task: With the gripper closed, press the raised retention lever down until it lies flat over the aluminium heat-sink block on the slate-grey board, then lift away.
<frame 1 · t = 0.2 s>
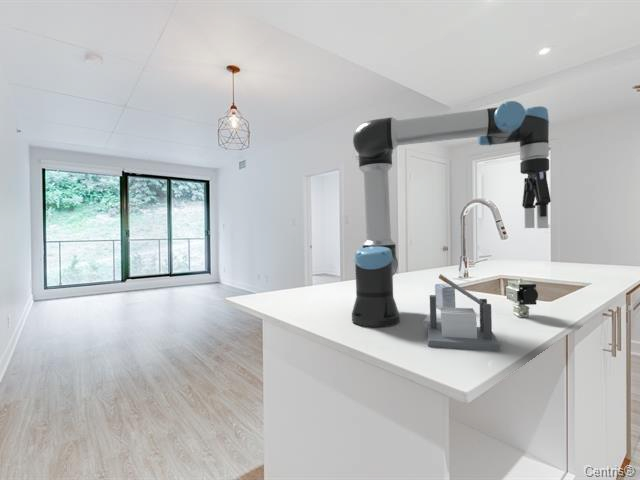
hand: (535, 228, 105), 28 cm above the worktop, tool pointing down, fingers open, 13 cm apart
medicine box: (445, 310, 119), on the worktop
pneumatic valve: (520, 316, 107), on the worktop
external hard drive: (441, 322, 106), on the worktop
heatsink base: (460, 339, 87), on the worktop
lever: (463, 291, 86), point 13 cm above the worktop, hinge at 35.0°
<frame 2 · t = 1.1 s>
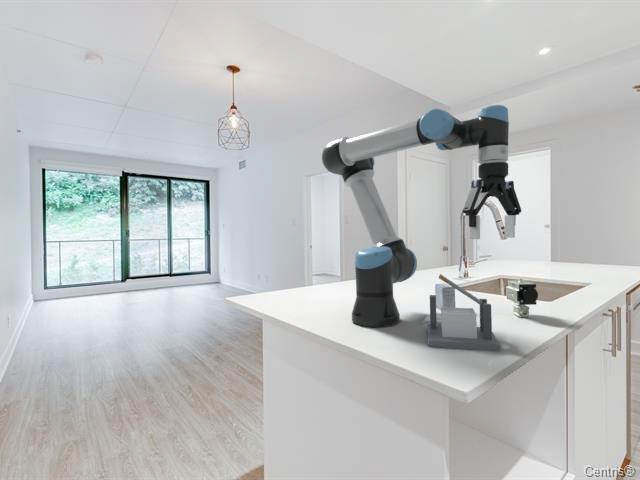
hand: (492, 238, 96), 25 cm above the worktop, tool pointing down, fingers open, 13 cm apart
nothing on the worktop moved.
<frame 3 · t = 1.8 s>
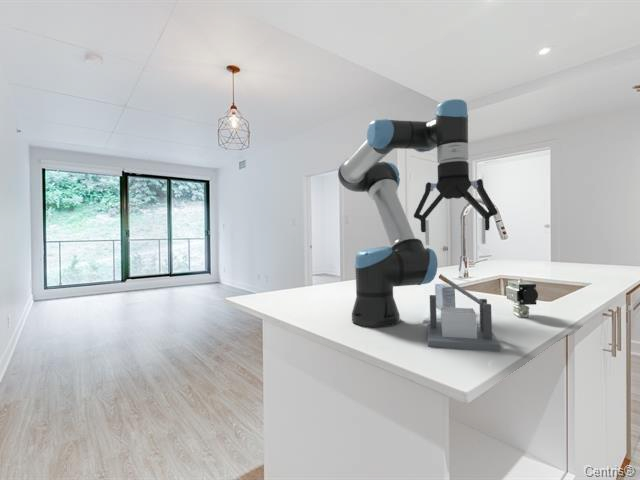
hand: (454, 244, 88), 25 cm above the worktop, tool pointing down, fingers open, 13 cm apart
nothing on the worktop moved.
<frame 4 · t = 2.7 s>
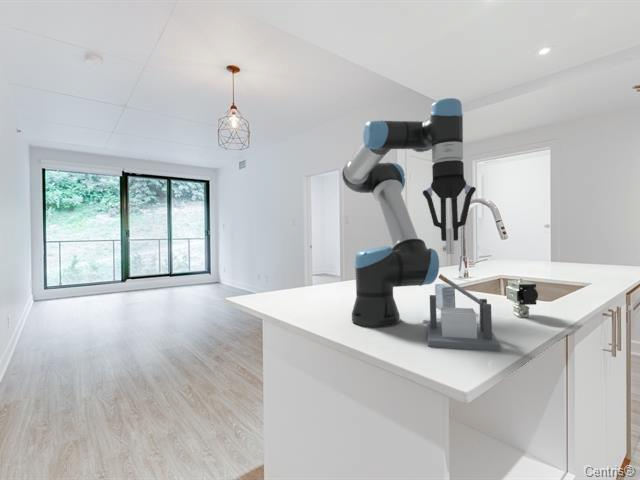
hand: (450, 253, 87), 22 cm above the worktop, tool pointing down, fingers closed
nothing on the worktop moved.
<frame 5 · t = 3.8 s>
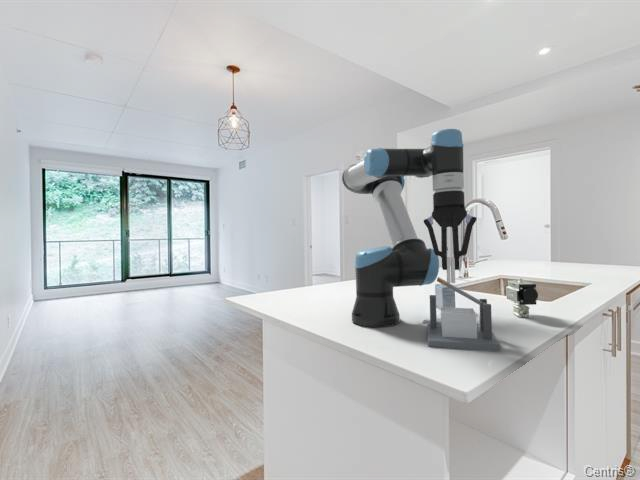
hand: (451, 282, 87), 15 cm above the worktop, tool pointing down, fingers closed
lever: (462, 292, 87), point 12 cm above the worktop, hinge at 30.8°, touching gripper
everything else where it was.
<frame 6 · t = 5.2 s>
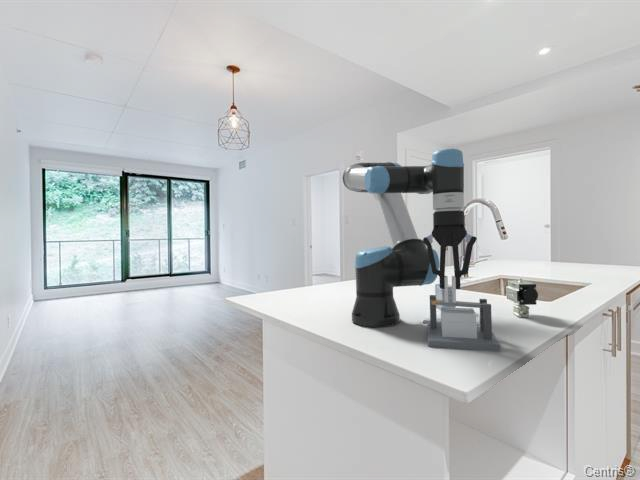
hand: (450, 301, 87), 10 cm above the worktop, tool pointing down, fingers closed on lever
lever: (458, 303, 87), point 9 cm above the worktop, hinge at 2.6°, touching gripper
everything else where it was.
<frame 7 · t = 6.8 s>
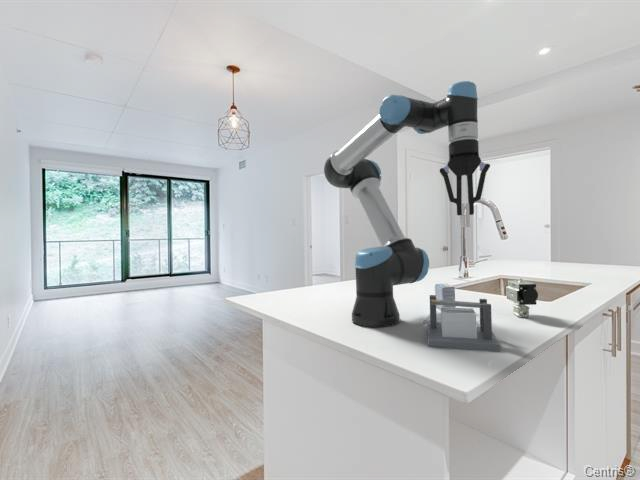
hand: (465, 227, 93), 29 cm above the worktop, tool pointing down, fingers closed
lever: (458, 303, 87), point 9 cm above the worktop, hinge at 2.6°
everything else where it was.
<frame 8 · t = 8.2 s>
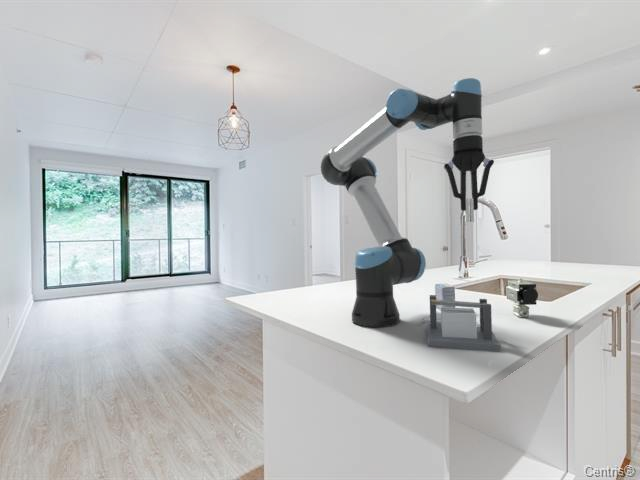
hand: (469, 222, 95), 30 cm above the worktop, tool pointing down, fingers closed
nothing on the worktop moved.
at the end: lever at +3° (first picture: +35°); the gripper is holding nothing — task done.
